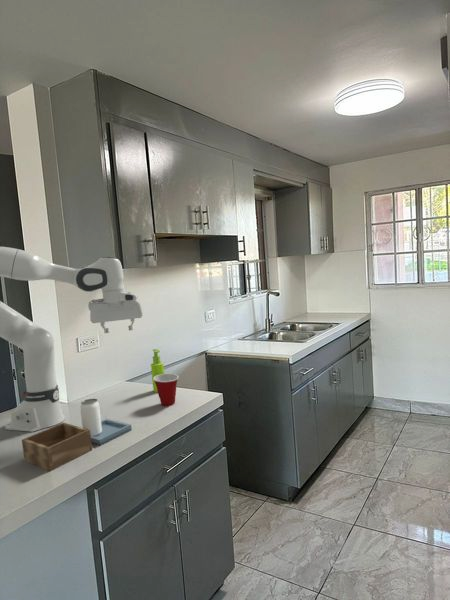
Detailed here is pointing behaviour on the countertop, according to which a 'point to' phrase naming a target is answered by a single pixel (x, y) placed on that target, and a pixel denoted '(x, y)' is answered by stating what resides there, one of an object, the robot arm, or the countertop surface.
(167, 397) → the plastic cup
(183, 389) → the countertop surface
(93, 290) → the robot arm
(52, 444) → the walnut sleeve
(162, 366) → the soap dispenser
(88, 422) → the can
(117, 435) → the tray
